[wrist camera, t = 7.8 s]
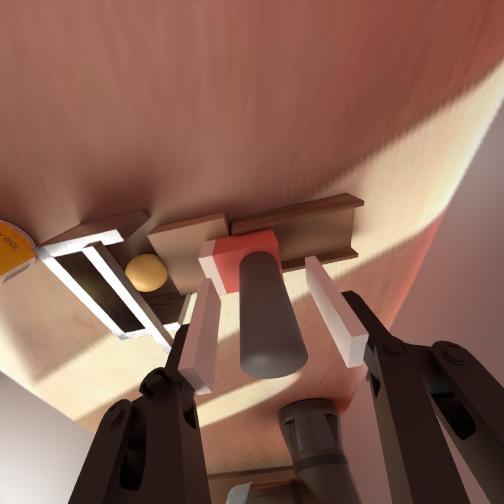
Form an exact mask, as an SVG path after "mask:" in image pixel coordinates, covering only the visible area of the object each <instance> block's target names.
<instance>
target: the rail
mask: <svg viewBox="0 0 504 504" xmlns="http://www.w3.org/2000/svg"><path fill="white" fill-rule="evenodd" d="M359 206H364V201H363V200H361V199H359V198H357V197H355V196H352V195H350V194H348V193H345V194H340V195H336V196H331V197H327V198H323V199H318V200H314V201H309V202H305V203H301V204H296V205H292V206H287V207H283V208H279V209H274V210H270V211H265V212H261V213H257V214H252V215H248V216H244V217H239V218H235V219H232V228H231V232H232V235H234V234H235V235H237V234H242V233H246V232H251V231H255V230H260V229H264V228H269V227H272V229H273V232H274V234H275V236H276V239H277V241H278V248H279V254H280V260H281V267H282V273H285V272H290V271H294V270H299V269H304V268H306V266H305V257H310V256H316V258H317V259H318V261H319V262H320V264H321V265H323V264H328V263H333V262H337V261H342V260H347V259H352V258H356V257H358V253H357V252H356V251H355V250H354V249H352V248H351V238H352V226H353V214H354V208H355V207H359Z"/></svg>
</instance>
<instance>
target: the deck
mask: <svg viewBox="0 0 504 504" xmlns="http://www.w3.org/2000/svg"><path fill="white" fill-rule="evenodd" d="M228 236H232V234H231V230H230V227H229V223H228V220H227V217H226V213H225V211H223V212H219V213H214V214H210V215H206V216H201V217H197V218H193V219H188V220H184V221H180V222H175V223H171V224H167V225H162V226H158V227H155V228H154V229H153V230H152V231H151V232H150V233H149V234H148V235H147V237H148V238H149V240H150V242H151V244H152V245H153V247H154V249H155V251H156V252H157V254H158V256H159V258H160V259H161V261H162V263H163V265H164V266H165V268H166V270H167V272H168V273H169V275H170V277H171V279H172V280H173V282H174V284H175V285H176V287H177V289H178V291H179V292H180V294H181V295H186V294H190V293H195V292H198V291H199V287H200V283H201V280H202V279H207V278H206V276H205V273H204V271H203V269H202V266H201V264H200V262H199V260H198V258H199V255H200V252H201V249H202V246H203V243H204V242H206V241H210V240H215V239H219V238H224V237H228Z"/></svg>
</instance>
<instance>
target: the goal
mask: <svg viewBox="0 0 504 504" xmlns="http://www.w3.org/2000/svg"><path fill="white" fill-rule="evenodd" d="M149 219H150V217H149V215H148V213H147V211H146V209H142V210H138V211H134V212H130V213H125V214H121V215H117V216H113V217H109V218H104V219H100V220H96V221H92V222H87V223H83V224H79V225H77V226H75V227H73V228H71V229H69V230H67V231H65V232H63V233H61V234H60V235H58V236H56V237H54V238H52V239H50V240H48V241H46V242H44V243H42V244H40V245H38V246H36V247H34V248H32V249H31V250H32V251H33V252H34V253H35V254H36V255H37V256H38V257H39V258H40V259H41V260H42V261H43V262H44V263H45V264H46V265H47V266H48V267H49V268H50V269H51V270H52V271H53V272H54V273H55V274H56V275H57V276H58V277H59V278H60V279H61V280H62V281H63V282H64V283H65V284H66V285H67V286H68V287H69V288H70V289H71V290H72V291H73V292H74V293H75V294H76V296H77V297H78V298H79V299H80V300H81V301H82V302H83V303H84V304H85V305H86V306H87V307H88V308H89V309H90V310H91V311H92V312H93V313H94V314H95V315H96V316H97V317H98V318H99V319H100V320H101V321H102V322H103V323H104V324H105V325H106V326H107V327H108V328H109V329H110V330H111V331H112V332H113V333H114V334H115V335H116V336H117V337H118V338H119V339H120V340H125V339H130V338H135V337H140V336H145V335H150V334H151V335H152V336H153V338H154V339H155V340H156V341H157V342H158V344H159V345H160V346H161V347H162V349H163V350H164V351H165V352H166V353H170V350H171V347H172V344H173V342H174V340H173V338H172V337H171V336H170V334H169V333H168V331H170V330H175V329H179V328H180V326H181V325H182V324H183V321H184V318H185V315H186V311H187V308H188V305H189V301H190V298H191V294H186V295H181V294H180V292H176V293H171V294H166V295H162V296H157V297H152V298H147V299H144V298H143V296H142V295H141V293H140V292H139V291H138V290H137V289H136V288H135V286H134V285H133V284H132V282H131V281H130V280H129V278H128V277H127V275H126V274H125V272H124V270H123V269H122V267H121V266H120V265H119V263H118V262H117V261H116V259H115V258H114V256H113V255H112V254H111V252H110V251H109V250H108V248H107V247H106V245H108V244H113V243H117V242H121V241H124V240H126V239H127V238H128V237H129V236H130V235H131V234H133V233H134V232H135V231H136V230H137V229H138V228H140V227H141V226H142V225H143V224H144V223H145V222H147V221H148V220H149Z"/></svg>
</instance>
